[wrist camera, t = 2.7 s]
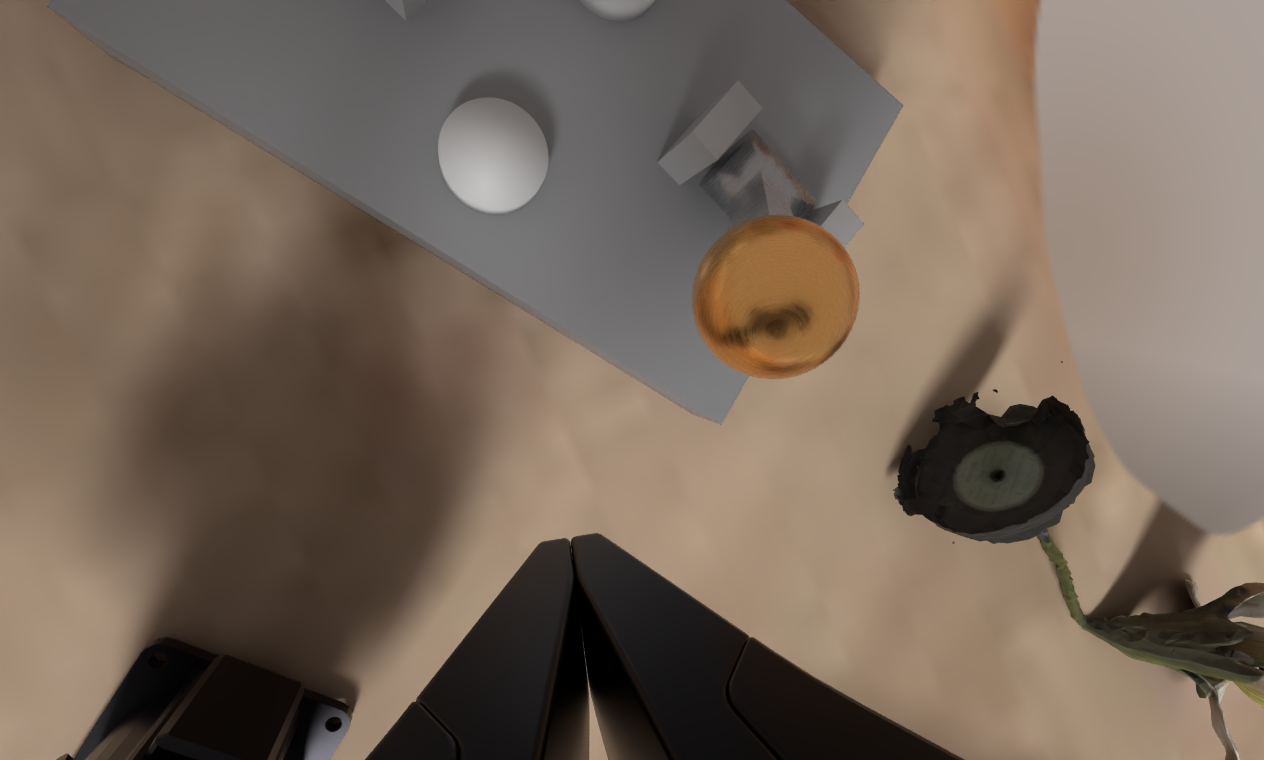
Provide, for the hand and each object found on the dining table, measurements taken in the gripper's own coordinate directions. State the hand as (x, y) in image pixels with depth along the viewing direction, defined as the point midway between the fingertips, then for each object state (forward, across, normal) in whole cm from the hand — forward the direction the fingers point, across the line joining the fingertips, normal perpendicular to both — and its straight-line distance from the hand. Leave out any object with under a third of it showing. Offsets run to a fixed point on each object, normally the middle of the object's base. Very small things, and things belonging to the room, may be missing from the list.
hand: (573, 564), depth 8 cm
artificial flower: (+13, +24, -15) cm, 31 cm away
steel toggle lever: (+13, +7, +3) cm, 15 cm away
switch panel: (+16, +1, +6) cm, 17 cm away
